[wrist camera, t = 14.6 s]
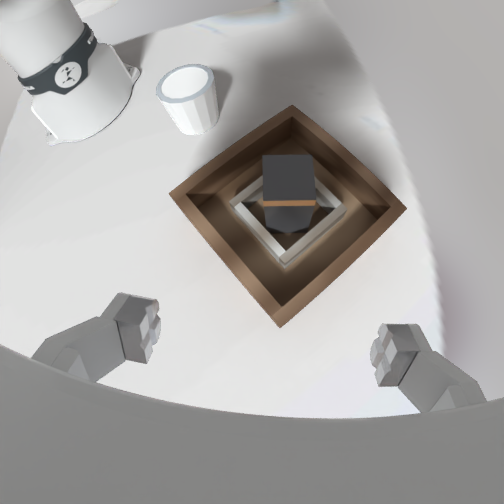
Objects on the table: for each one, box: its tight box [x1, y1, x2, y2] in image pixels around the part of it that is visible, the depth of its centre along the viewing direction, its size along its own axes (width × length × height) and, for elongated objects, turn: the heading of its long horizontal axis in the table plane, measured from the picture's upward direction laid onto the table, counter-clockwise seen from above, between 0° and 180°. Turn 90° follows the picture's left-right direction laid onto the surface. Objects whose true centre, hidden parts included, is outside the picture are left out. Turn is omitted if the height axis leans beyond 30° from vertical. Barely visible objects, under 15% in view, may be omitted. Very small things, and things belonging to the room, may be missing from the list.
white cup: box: [156, 64, 219, 135], centre depth 33 cm, size 7×7×7 cm
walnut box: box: [169, 105, 407, 328], centre depth 29 cm, size 16×16×5 cm
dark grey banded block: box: [262, 155, 316, 233], centre depth 27 cm, size 4×4×8 cm
